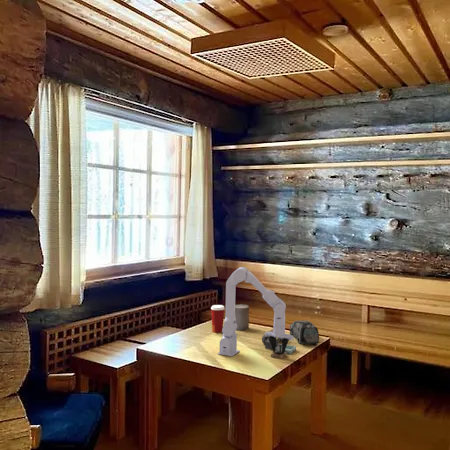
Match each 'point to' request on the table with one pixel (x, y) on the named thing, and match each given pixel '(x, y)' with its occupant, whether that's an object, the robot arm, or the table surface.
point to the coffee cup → (217, 318)
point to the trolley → (268, 337)
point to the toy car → (304, 332)
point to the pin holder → (278, 355)
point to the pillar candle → (242, 316)
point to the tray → (289, 349)
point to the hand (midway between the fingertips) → (278, 352)
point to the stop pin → (278, 349)
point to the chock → (269, 344)
